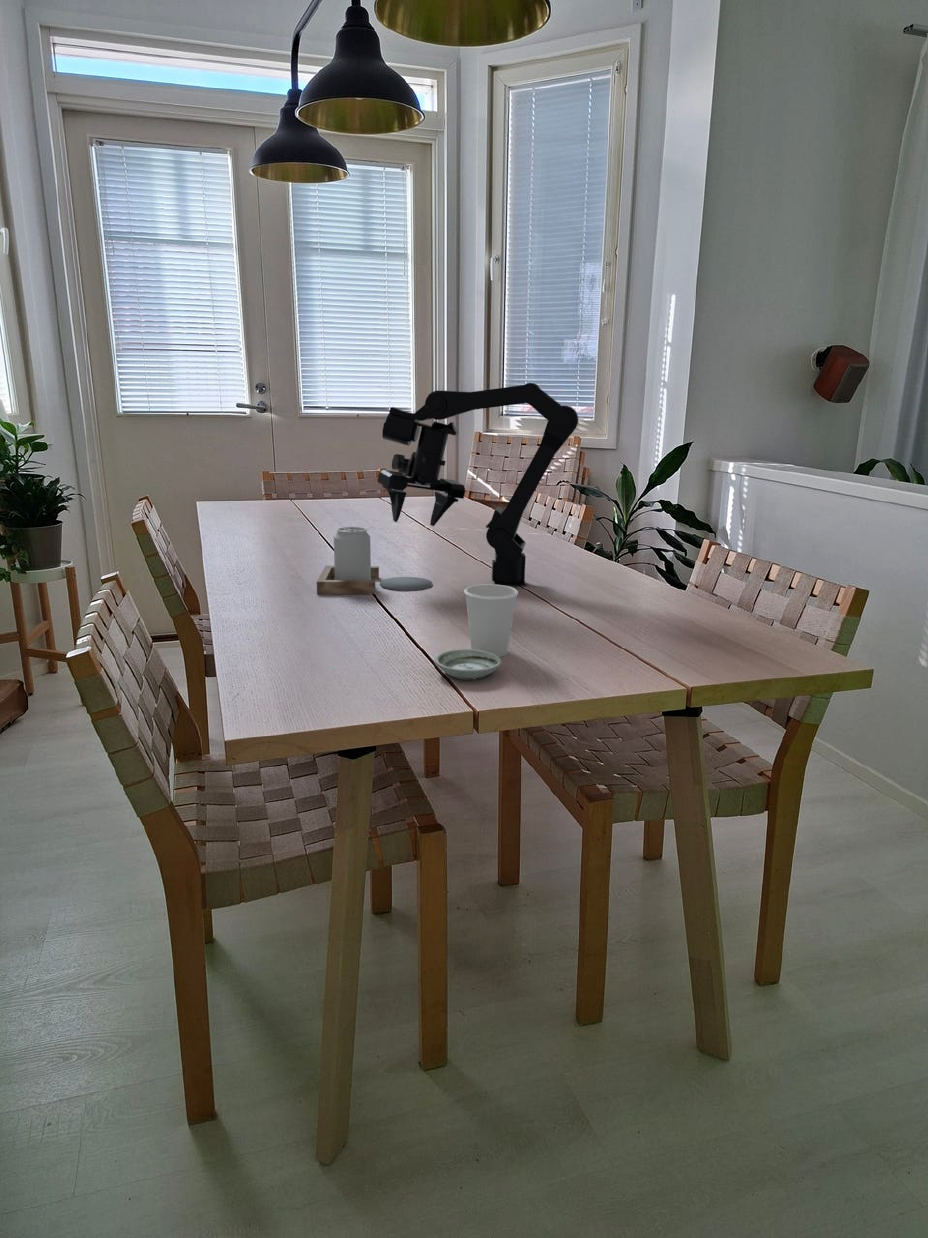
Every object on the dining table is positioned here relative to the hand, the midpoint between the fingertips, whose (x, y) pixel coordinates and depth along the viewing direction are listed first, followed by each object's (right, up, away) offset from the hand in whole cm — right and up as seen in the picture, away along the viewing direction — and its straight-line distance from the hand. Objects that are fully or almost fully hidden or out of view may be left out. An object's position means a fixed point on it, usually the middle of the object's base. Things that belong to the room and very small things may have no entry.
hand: (413, 523), depth 172 cm
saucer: (+11, -29, -55) cm, 63 cm away
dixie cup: (+15, -26, -45) cm, 54 cm away
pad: (-1, -13, -3) cm, 13 cm away
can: (-12, -14, -4) cm, 19 cm away
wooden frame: (-12, -13, -4) cm, 19 cm away
